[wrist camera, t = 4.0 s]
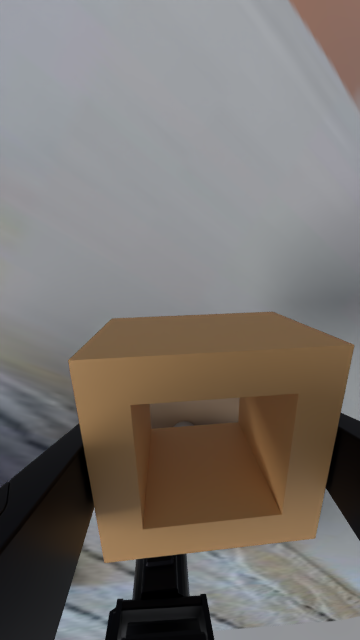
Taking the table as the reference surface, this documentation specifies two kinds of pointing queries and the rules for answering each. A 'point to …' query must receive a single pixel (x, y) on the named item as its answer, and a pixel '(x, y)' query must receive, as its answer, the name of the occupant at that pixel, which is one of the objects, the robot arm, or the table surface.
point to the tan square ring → (208, 430)
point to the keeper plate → (194, 413)
